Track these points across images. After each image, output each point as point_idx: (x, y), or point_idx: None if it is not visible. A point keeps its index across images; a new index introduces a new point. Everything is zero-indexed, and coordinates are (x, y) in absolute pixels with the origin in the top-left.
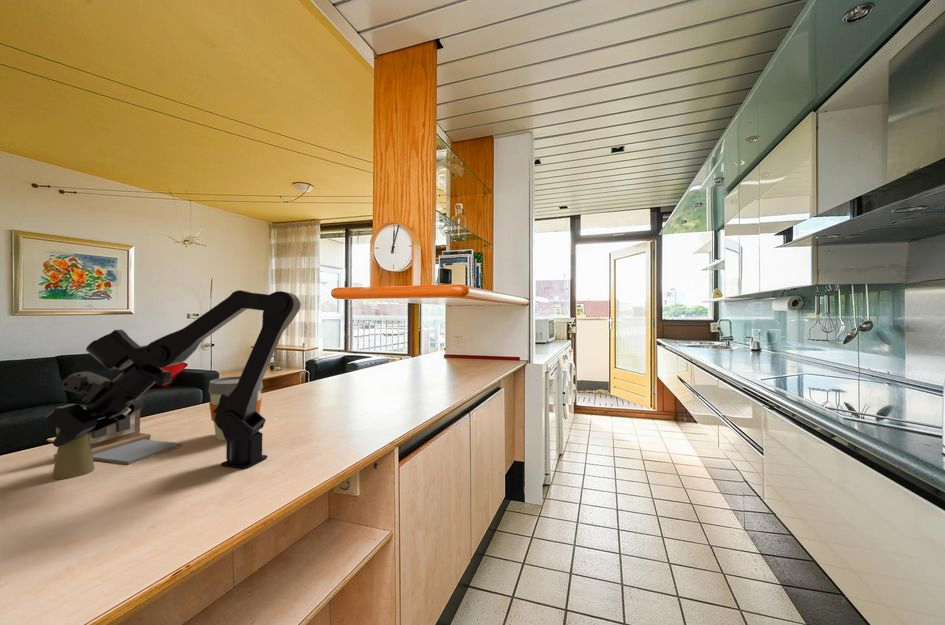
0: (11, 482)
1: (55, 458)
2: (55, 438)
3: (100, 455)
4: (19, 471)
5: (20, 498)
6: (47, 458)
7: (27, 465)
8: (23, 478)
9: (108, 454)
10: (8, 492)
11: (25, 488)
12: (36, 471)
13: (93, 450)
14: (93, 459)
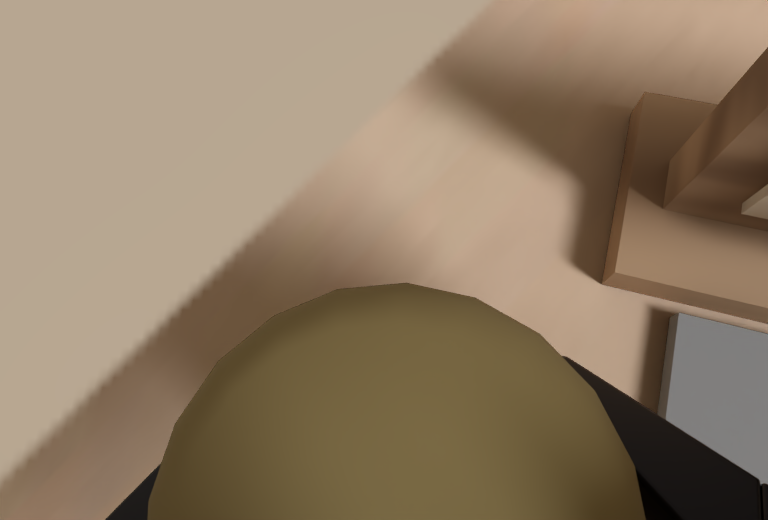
0: (285, 221)
1: (632, 120)
2: (158, 467)
3: (713, 402)
4: (442, 106)
5: (38, 508)
6: (648, 56)
7: (531, 60)
8: (338, 229)
9: (747, 449)
10: (142, 347)
11: (185, 389)
12: (442, 197)
13: (765, 289)
14: (663, 380)
